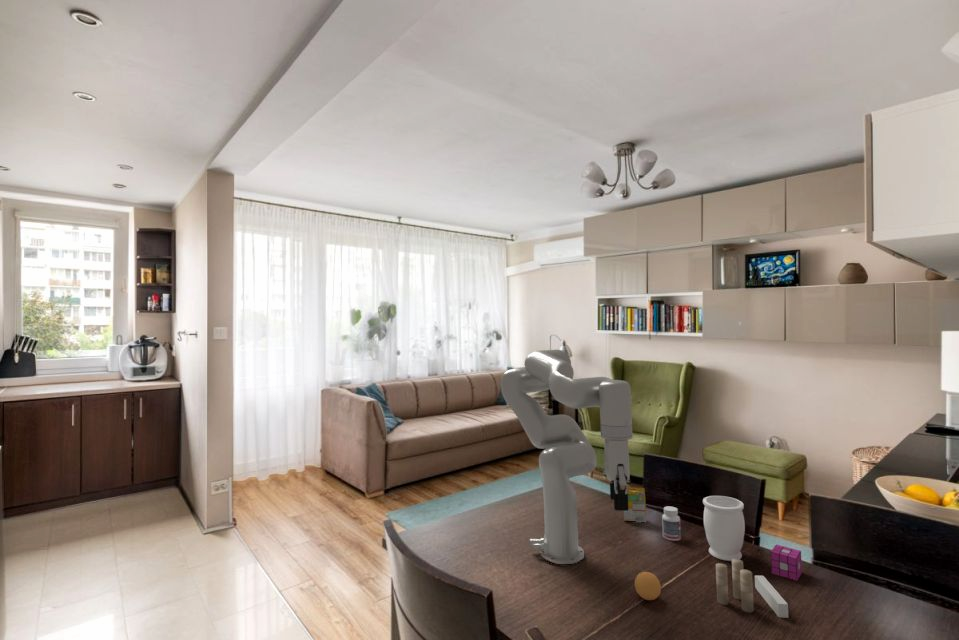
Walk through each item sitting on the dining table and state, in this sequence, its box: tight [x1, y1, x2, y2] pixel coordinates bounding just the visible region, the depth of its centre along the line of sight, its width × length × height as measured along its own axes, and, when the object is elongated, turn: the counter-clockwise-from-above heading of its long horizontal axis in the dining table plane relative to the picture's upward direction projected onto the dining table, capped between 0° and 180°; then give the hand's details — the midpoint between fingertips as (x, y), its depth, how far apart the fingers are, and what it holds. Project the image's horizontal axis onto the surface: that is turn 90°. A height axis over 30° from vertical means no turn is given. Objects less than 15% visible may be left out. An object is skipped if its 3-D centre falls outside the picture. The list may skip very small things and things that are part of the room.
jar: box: [702, 495, 746, 562], centre depth 133 cm, size 11×10×15 cm
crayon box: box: [622, 486, 647, 524], centre depth 158 cm, size 7×3×12 cm, turn 77°
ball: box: [634, 571, 662, 601], centre depth 113 cm, size 6×6×6 cm
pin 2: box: [740, 568, 755, 613], centre depth 108 cm, size 2×2×8 cm
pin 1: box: [731, 559, 744, 600], centre depth 113 cm, size 2×2×8 cm
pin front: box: [715, 562, 729, 606], centre depth 111 cm, size 2×2×8 cm
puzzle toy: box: [770, 544, 803, 582], centre depth 122 cm, size 6×6×6 cm
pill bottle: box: [661, 505, 682, 542], centre depth 145 cm, size 5×5×9 cm
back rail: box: [754, 575, 789, 619], centre depth 110 cm, size 2×12×3 cm, turn 172°
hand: (619, 503), depth 114 cm, fingers open, 6 cm apart
